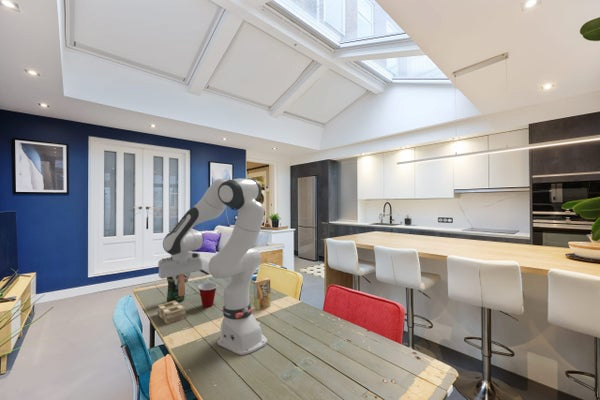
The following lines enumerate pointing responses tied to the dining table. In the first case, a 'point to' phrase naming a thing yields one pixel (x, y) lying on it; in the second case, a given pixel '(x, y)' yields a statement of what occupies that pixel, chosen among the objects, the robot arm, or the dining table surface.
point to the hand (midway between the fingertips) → (181, 283)
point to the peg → (181, 285)
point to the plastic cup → (207, 293)
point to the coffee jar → (173, 291)
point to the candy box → (261, 293)
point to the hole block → (171, 312)
